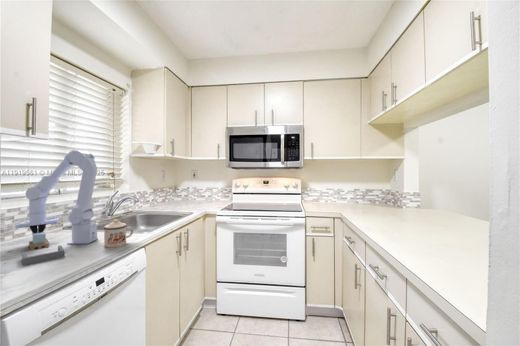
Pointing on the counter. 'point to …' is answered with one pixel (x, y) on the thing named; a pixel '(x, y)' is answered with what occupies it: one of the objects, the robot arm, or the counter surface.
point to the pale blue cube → (39, 238)
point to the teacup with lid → (115, 234)
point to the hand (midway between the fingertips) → (37, 241)
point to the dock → (43, 256)
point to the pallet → (38, 245)
